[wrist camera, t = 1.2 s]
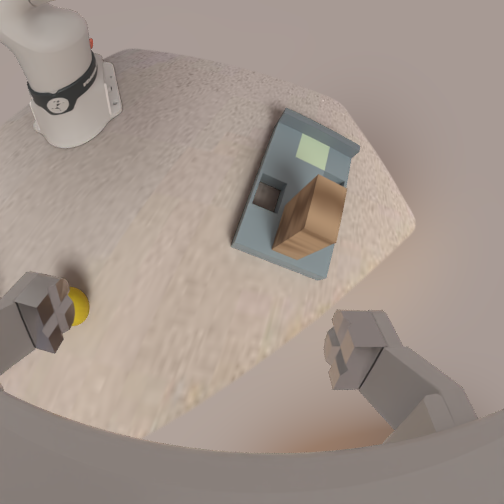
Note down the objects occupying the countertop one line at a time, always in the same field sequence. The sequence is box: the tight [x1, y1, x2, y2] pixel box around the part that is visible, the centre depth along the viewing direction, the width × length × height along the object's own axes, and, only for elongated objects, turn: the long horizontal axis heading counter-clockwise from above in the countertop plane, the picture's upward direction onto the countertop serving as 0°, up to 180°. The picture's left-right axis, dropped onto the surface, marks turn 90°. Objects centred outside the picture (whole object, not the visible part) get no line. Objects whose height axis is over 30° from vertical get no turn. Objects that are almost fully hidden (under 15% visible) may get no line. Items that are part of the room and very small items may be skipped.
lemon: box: [68, 287, 89, 326], centre depth 35 cm, size 6×6×8 cm
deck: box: [231, 108, 360, 280], centre depth 50 cm, size 26×16×6 cm, turn 161°
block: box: [272, 174, 347, 260], centre depth 42 cm, size 8×4×12 cm, turn 161°
